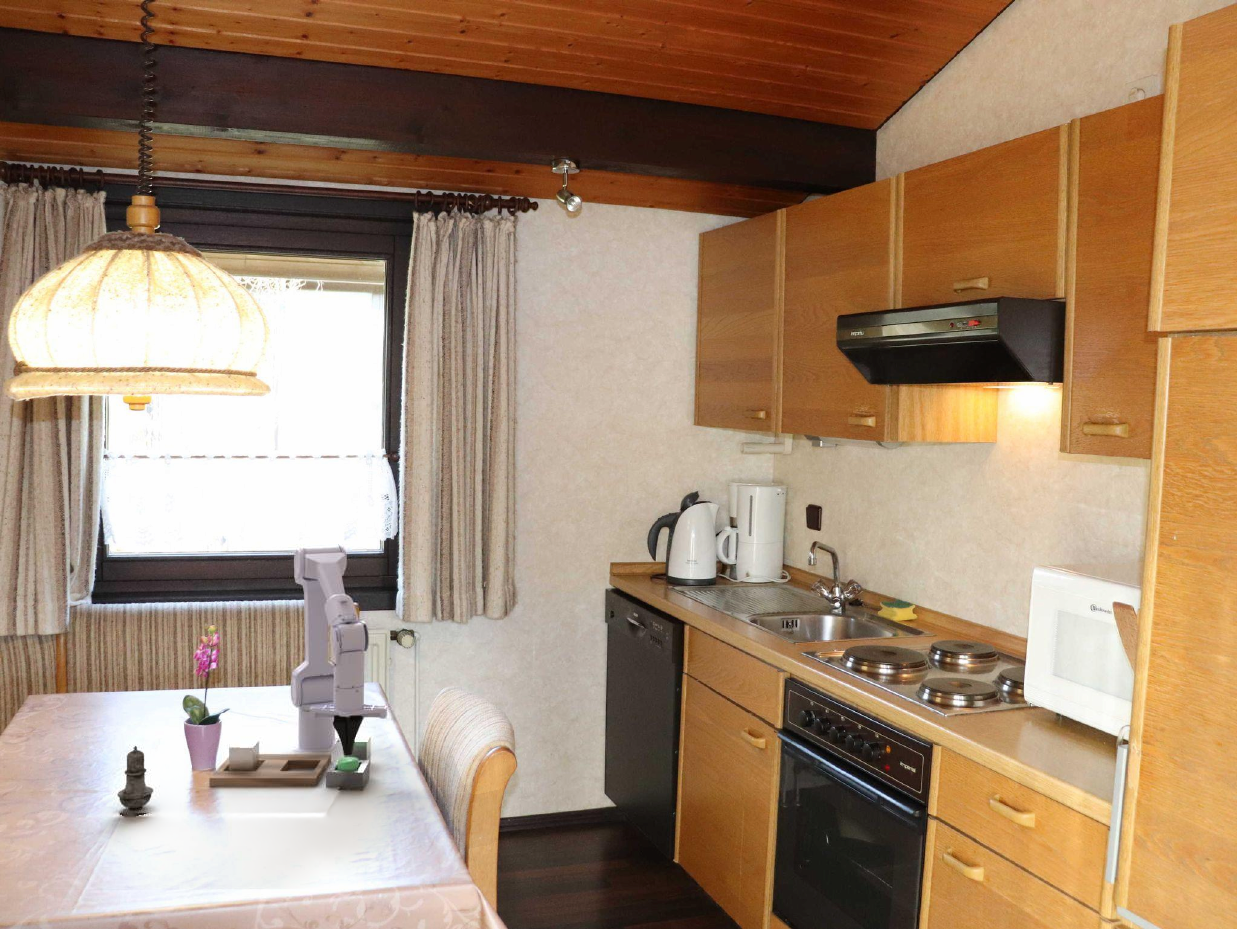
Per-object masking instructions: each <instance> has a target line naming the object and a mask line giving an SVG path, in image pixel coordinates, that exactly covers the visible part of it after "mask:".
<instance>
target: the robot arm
mask: <svg viewBox="0 0 1237 929" xmlns="http://www.w3.org/2000/svg"><path fill="white" fill-rule="evenodd" d="M347 557H348V556H347V551H346V548H345V547H344V546H343V544H337V545H317V546H316V545H315V546H301V545H299V546H297V548H296V549H295V551H294V557H293V568H294V569H293V570H294V572H293V573H294V581H295V582H294V583H296V584H299V585H300V586H302V588H303V593H304V594H303V598H304V599H303V604H304V653H305V654H304V657H305V658H304V661H303V662H302V663H301V664H299V665H298V666H297V667H296V668H295V669H294V670H293V671H292V674H291V682H290V699H291V703H292V705H293V706H294V707H295V708H298V743H297V745H296V746H295V747H294V748H293V750H292V751H293V752H294V751H295V752H310V751H311V752H330V751H331V752H332V750H333V748H334V747H335V745H336V744H337V743H338V742H339V741H340V744H341V746H342V752H343V756H344V755H352V753H353V747H354V742H355V739H356V735H358V732H359V730H360V728H361V725H362V723H363V720H364V718H380V719H387V716H388V705H374V704H366V703H364V702H365V652H367V651H368V649H369V645H370V644H369V643H370V634H369V629H368V625H367V623H366V622H365V621H364V620H363V619H362V618H359V616H358V611H357V609H356V606H355V603H354V600H353V598H352V597H351V596H349V595H348V594H346V591H345V587H344V583H343V582H344V581H343V576H344V574H345V571H346V568H347V562H348V559H347ZM328 626H329V629H330V631H329V632H330V633H329V636H328ZM328 637H329V638H328ZM328 639H329V643H328ZM328 644H330V645H329V646H330V649H331V661H332V662H331V661H329V652H328V651H329V648H328ZM336 734H337V736H336Z"/></svg>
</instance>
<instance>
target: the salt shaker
mask: <svg viewBox="0 0 1237 929" xmlns="http://www.w3.org/2000/svg"><path fill="white" fill-rule="evenodd" d="M146 772H147V768H145V753H144V752H143V751H141V750H139V749H138V747H137V745H135V746H134V747H133V750H131V751H130V752H128V753H127V755H126V770H125V771H124V775H126V776H125V777H126V780H125V781H126V783H125V787H124V789H121V790H119V791H118V792H117V797H118V798H119V802H120V804H121V805H122V806H123V807H125V808H127V809H128V810H129V811H132V812H119V813H120V814H119V816H121V815H122V816H121V817H123V816H124V818H137V817H136V816H138V817H140V816H139V815H142V816H145V815H147V814H146V813H147V812H134V811H140V810H141V809H143V807H144V806H146V805H147V804H148V803H149V801H150V800H151V798H152V794H153V792H154V788H152V786H151V787H150V786H147V785H146V782H145V776H146ZM144 814H145V815H144Z"/></svg>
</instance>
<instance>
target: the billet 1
mask: <svg viewBox="0 0 1237 929" xmlns="http://www.w3.org/2000/svg"><path fill="white" fill-rule="evenodd" d="M259 754H260V740H259V739H236V740H235V741H234V742H232V744H230V746H229V747H228V757H229V771H257V770H258V769H259Z"/></svg>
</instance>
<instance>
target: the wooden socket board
mask: <svg viewBox="0 0 1237 929" xmlns="http://www.w3.org/2000/svg"><path fill="white" fill-rule="evenodd" d="M331 764H332V754H331V753H325V754H324V753H259V769H258V770H257V771H229V756H228V757H227V759H225V760H224V762H223V763H221V765H220V766H219V767H218V768H217V769H216V770H215V771H214V772H213V774H211V775H210V777H209V782H208V784H209V786H208V787H213V788H215V787H222V788H223V787H227V788H228V787H231V788H232V787H238V788H239V787H243V788H244V787H247V788H248V787H251V788H252V787H257V788H258V787H266V788H267V787H268V788H269V787H270V788H271V787H279V788H280V787H282V788H283V787H284V788H285V787H290V788H292V787H297V788H298V787H300V788H301V787H302V788H303V787H310V788H311V787H312V788H314V787H317V786H318V784H319V783H320V780H321V779H322V777H323V776H324V774H326V772H327V770H328V768H329V767H330V765H331Z"/></svg>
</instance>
